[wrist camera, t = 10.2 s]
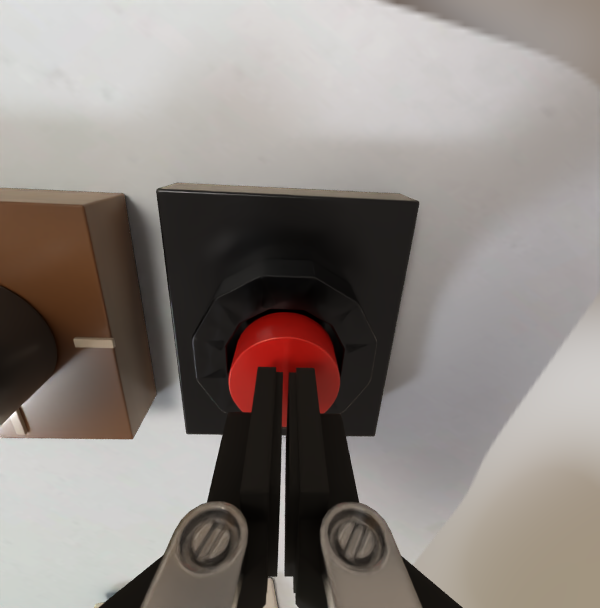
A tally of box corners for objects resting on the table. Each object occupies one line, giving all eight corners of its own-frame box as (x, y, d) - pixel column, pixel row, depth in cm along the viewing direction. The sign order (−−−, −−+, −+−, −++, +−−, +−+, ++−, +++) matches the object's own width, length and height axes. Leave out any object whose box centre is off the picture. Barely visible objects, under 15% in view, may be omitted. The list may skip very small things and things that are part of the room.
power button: (234, 309, 12) (225, 335, 10) (338, 312, 12) (346, 338, 10) (237, 393, 13) (229, 427, 11) (329, 394, 13) (334, 428, 12)
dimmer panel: (-120, 181, 13) (-237, 191, 10) (127, 193, 13) (83, 206, 10) (-26, 391, 17) (-90, 440, 14) (159, 394, 17) (134, 442, 15)
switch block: (175, 182, 13) (131, 195, 10) (401, 193, 14) (442, 209, 10) (197, 402, 18) (173, 468, 14) (365, 405, 18) (385, 469, 15)
